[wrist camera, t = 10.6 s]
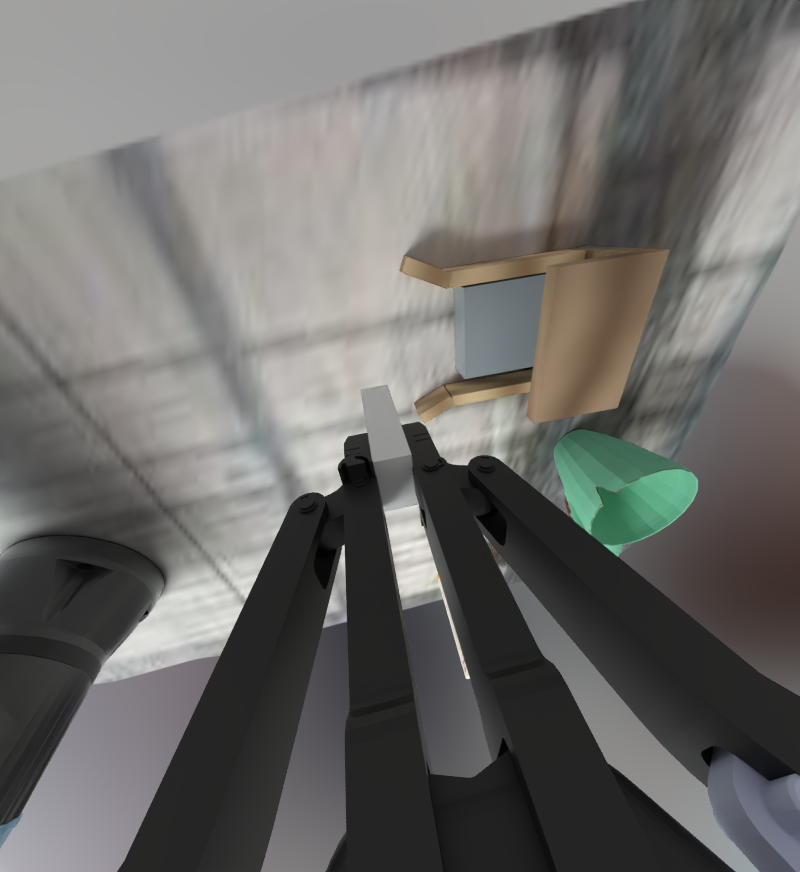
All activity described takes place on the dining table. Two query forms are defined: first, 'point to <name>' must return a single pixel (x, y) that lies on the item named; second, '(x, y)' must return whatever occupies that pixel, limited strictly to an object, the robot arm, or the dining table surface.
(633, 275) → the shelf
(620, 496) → the green pitcher
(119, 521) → the dining table surface
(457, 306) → the tile
